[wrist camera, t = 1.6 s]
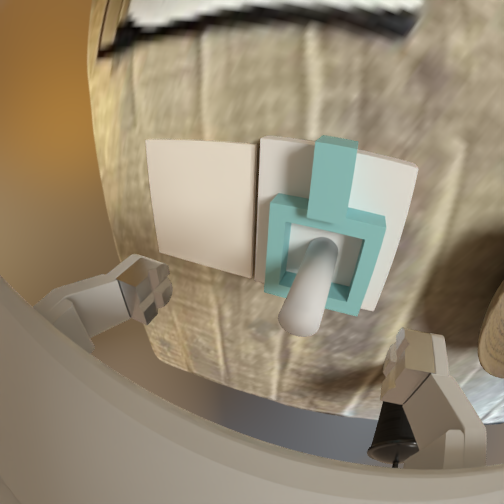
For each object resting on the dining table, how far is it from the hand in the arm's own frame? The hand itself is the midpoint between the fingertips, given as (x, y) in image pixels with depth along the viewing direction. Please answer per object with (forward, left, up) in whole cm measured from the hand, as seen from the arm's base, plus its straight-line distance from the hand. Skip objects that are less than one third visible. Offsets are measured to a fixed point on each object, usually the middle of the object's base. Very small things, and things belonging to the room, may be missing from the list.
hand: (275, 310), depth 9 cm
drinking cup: (+25, +16, -20) cm, 35 cm away
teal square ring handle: (+5, 0, -17) cm, 18 cm away
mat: (+7, -15, -19) cm, 25 cm away
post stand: (+6, 0, -19) cm, 20 cm away
